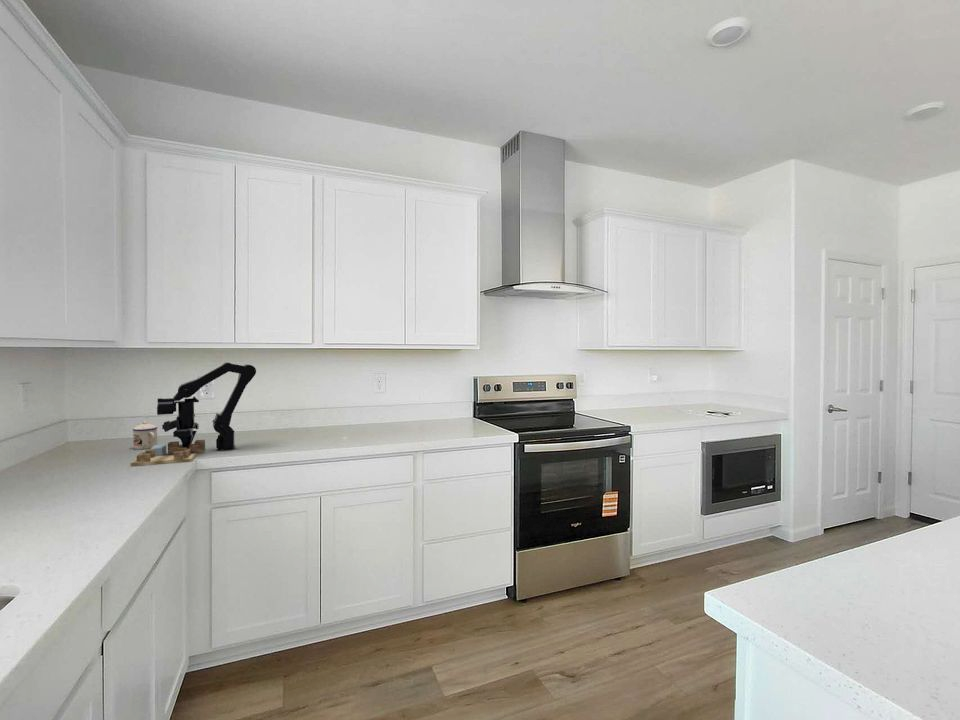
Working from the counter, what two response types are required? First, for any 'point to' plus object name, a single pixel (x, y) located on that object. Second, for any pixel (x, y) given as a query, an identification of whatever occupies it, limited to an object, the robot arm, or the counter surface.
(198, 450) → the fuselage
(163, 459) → the jig
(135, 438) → the teacup with lid
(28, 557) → the counter surface
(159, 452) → the light blue block
